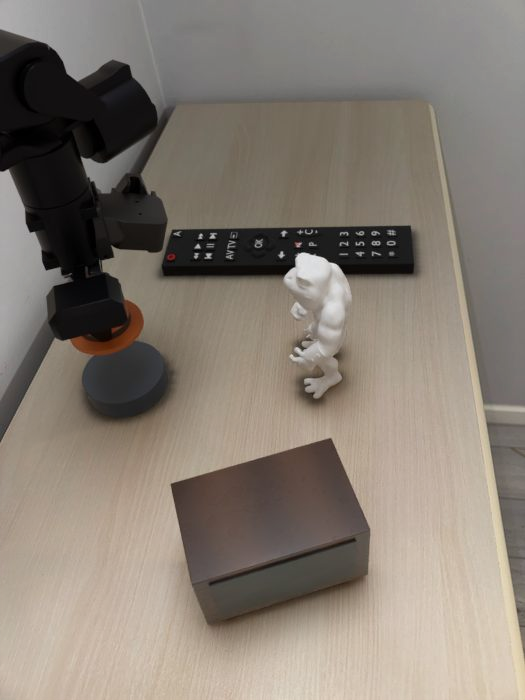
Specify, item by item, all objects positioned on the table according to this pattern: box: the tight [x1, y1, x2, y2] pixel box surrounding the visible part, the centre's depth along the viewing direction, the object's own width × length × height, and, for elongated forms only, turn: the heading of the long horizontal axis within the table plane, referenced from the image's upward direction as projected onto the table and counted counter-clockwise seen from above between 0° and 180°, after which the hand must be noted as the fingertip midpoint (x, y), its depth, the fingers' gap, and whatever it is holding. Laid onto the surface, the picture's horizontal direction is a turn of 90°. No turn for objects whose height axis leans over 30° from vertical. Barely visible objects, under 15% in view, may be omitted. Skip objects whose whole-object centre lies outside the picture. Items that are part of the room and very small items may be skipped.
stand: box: [81, 340, 169, 419], centre depth 74 cm, size 9×9×2 cm
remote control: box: [161, 224, 415, 276], centre depth 87 cm, size 8×32×2 cm, turn 85°
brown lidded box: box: [170, 437, 371, 626], centre depth 57 cm, size 14×9×9 cm, turn 105°
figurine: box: [282, 253, 353, 400], centre depth 69 cm, size 11×7×15 cm, turn 0°
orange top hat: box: [69, 275, 145, 356], centre depth 67 cm, size 8×8×5 cm
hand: (103, 321), depth 68 cm, fingers closed on orange top hat, 5 cm apart
